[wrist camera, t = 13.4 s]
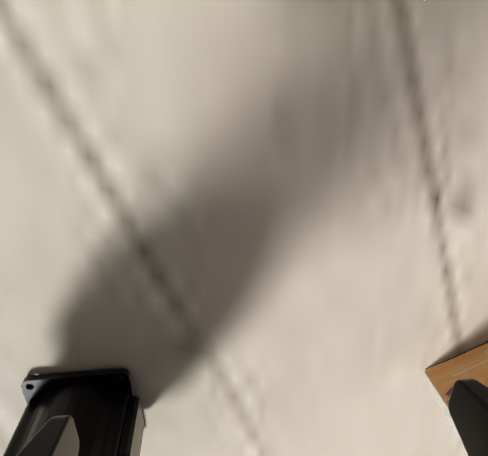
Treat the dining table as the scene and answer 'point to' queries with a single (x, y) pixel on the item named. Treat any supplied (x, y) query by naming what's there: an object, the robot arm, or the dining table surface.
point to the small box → (457, 375)
